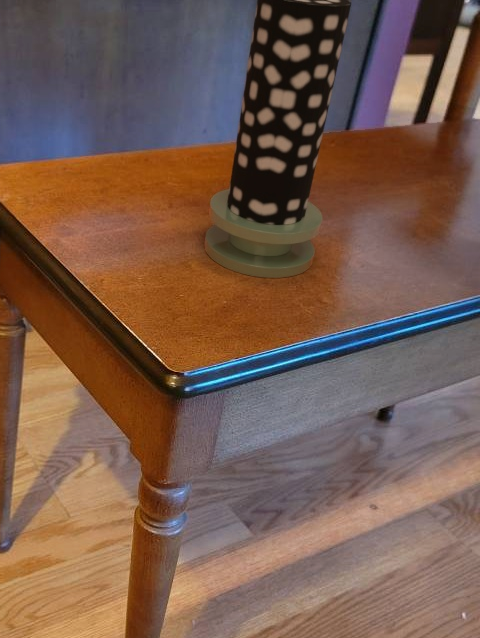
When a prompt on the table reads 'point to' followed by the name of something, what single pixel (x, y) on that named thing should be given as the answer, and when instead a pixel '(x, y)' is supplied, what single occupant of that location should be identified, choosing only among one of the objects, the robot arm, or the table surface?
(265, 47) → the spotted tube
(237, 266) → the stand
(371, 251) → the table surface
